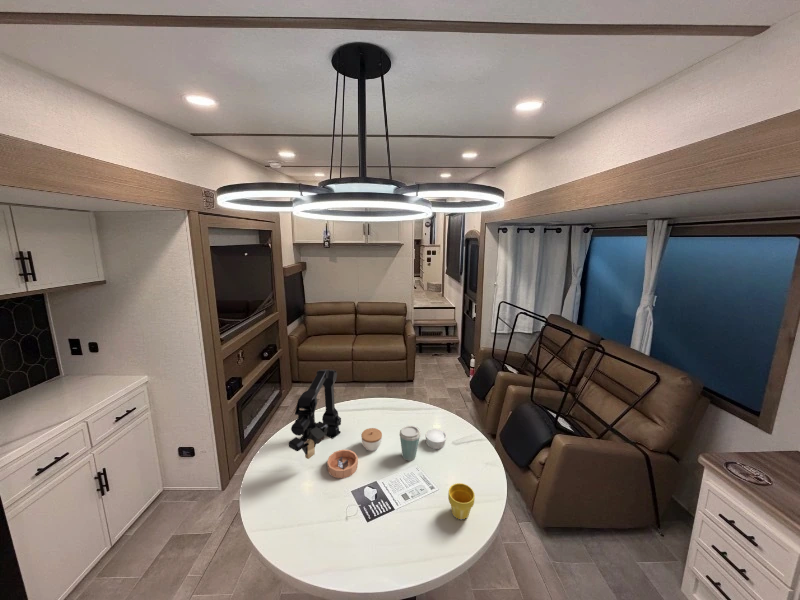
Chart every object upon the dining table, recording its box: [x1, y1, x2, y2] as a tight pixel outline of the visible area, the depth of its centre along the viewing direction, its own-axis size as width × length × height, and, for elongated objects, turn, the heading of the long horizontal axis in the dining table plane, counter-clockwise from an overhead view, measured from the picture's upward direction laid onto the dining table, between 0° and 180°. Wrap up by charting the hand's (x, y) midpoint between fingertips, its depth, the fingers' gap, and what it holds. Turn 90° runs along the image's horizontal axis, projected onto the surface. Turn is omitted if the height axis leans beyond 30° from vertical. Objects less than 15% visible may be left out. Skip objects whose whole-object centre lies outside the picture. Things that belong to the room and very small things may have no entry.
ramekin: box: [424, 428, 448, 450], centre depth 169 cm, size 11×11×5 cm
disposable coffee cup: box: [399, 425, 422, 462], centre depth 159 cm, size 11×11×15 cm
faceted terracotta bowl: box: [326, 449, 359, 479], centre depth 152 cm, size 14×14×4 cm
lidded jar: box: [360, 427, 383, 452], centre depth 165 cm, size 11×11×9 cm
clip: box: [337, 457, 348, 469], centre depth 152 cm, size 4×3×3 cm
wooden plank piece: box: [304, 438, 316, 460], centre depth 147 cm, size 2×4×8 cm, turn 148°
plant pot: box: [447, 482, 476, 520], centre depth 128 cm, size 10×10×10 cm
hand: (309, 451), depth 147 cm, fingers closed on wooden plank piece, 4 cm apart
